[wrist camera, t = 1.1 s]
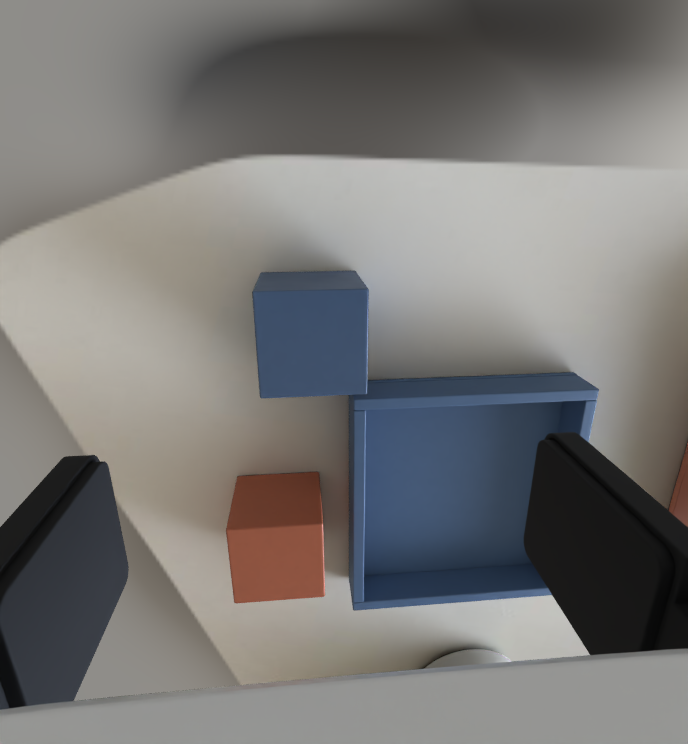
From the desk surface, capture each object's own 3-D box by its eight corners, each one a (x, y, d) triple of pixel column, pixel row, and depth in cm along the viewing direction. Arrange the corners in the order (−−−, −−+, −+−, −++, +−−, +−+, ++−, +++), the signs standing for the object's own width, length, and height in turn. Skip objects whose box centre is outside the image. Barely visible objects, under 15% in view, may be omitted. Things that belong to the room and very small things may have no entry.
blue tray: (348, 380, 25) (353, 399, 23) (573, 372, 26) (599, 389, 24) (349, 579, 30) (353, 611, 27) (539, 565, 31) (558, 594, 28)
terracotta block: (237, 475, 26) (225, 529, 22) (319, 471, 27) (323, 523, 22) (243, 541, 28) (234, 604, 24) (321, 536, 28) (325, 597, 24)
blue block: (260, 272, 23) (251, 291, 18) (355, 270, 23) (368, 288, 19) (266, 362, 24) (260, 398, 20) (355, 359, 24) (367, 394, 20)
